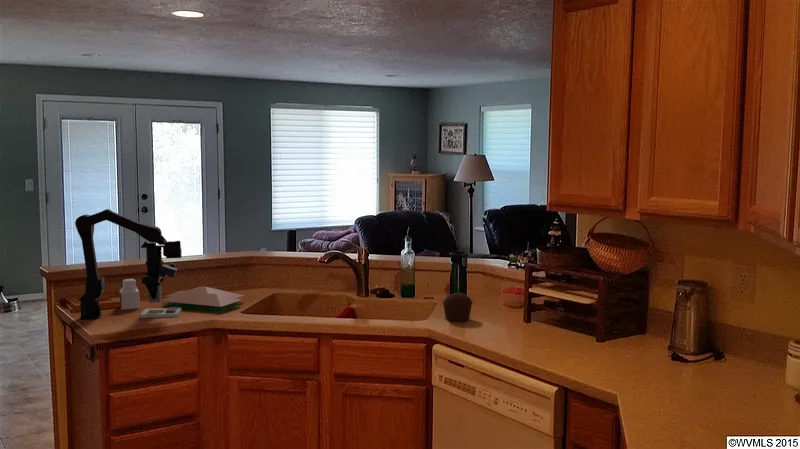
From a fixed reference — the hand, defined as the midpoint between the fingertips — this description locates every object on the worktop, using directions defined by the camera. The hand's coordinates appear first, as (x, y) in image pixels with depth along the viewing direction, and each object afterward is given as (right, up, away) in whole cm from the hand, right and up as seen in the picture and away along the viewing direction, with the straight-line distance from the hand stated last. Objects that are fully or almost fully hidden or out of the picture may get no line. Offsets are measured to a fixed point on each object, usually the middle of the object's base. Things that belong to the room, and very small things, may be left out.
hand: (155, 298), depth 286 cm
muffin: (+118, -8, -7) cm, 119 cm away
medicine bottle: (-15, -6, +14) cm, 21 cm away
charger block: (0, -1, 0) cm, 1 cm away
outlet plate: (+2, -6, +1) cm, 7 cm away
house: (+14, -5, +19) cm, 25 cm away
